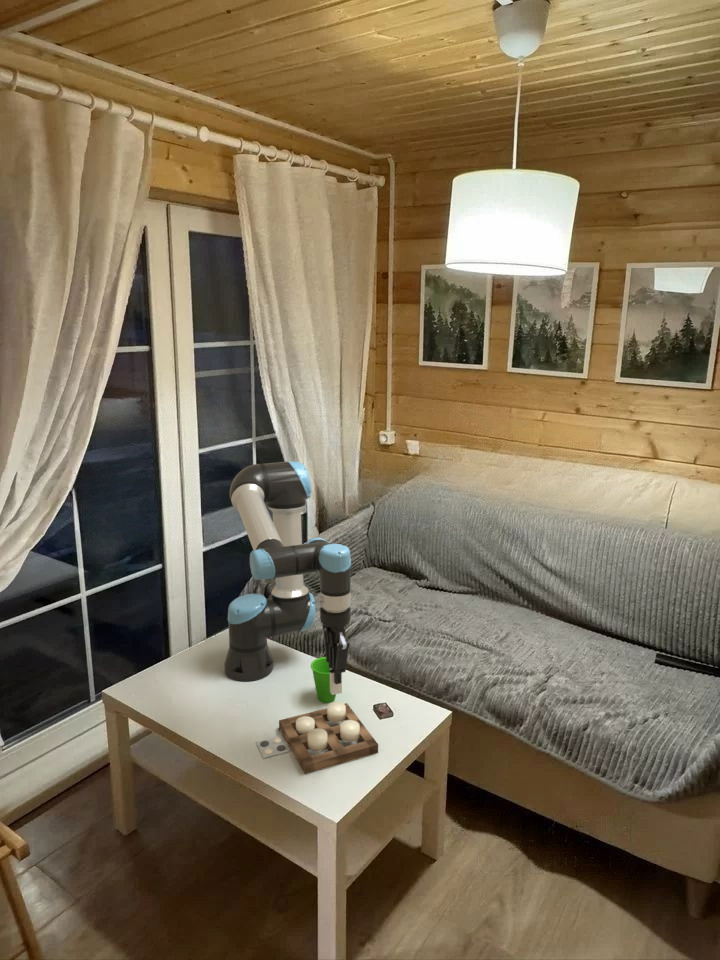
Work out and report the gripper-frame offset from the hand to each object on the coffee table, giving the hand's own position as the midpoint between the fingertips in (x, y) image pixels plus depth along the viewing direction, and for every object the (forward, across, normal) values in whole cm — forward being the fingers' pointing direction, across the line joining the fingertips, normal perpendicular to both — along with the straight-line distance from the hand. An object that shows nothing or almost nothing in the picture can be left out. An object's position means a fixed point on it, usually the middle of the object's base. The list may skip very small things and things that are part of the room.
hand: (335, 692), depth 174 cm
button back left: (+12, -7, +3) cm, 15 cm away
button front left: (+13, +2, +3) cm, 13 cm away
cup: (+15, -21, +5) cm, 26 cm away
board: (+15, -3, -1) cm, 16 cm away
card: (+15, -6, -16) cm, 22 cm away
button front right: (+13, +2, -6) cm, 14 cm away
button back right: (+14, -7, -6) cm, 17 cm away
